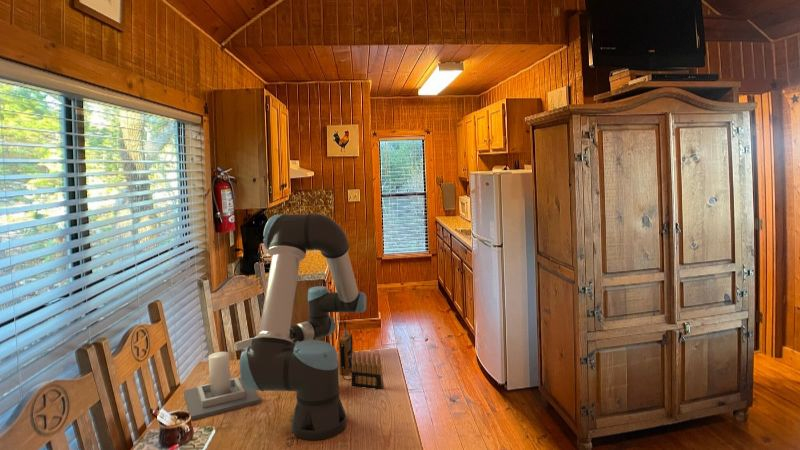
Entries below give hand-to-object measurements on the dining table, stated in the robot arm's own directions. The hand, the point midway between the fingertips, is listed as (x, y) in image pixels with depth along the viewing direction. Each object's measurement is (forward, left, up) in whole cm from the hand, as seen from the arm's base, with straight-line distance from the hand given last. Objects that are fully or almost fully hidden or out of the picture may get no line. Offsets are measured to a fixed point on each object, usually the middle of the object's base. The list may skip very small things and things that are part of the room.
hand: (246, 351), depth 157 cm
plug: (-4, +9, -11) cm, 15 cm away
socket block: (-4, +9, -12) cm, 16 cm away
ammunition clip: (-22, -34, -13) cm, 42 cm away
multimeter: (-9, -36, -13) cm, 39 cm away
